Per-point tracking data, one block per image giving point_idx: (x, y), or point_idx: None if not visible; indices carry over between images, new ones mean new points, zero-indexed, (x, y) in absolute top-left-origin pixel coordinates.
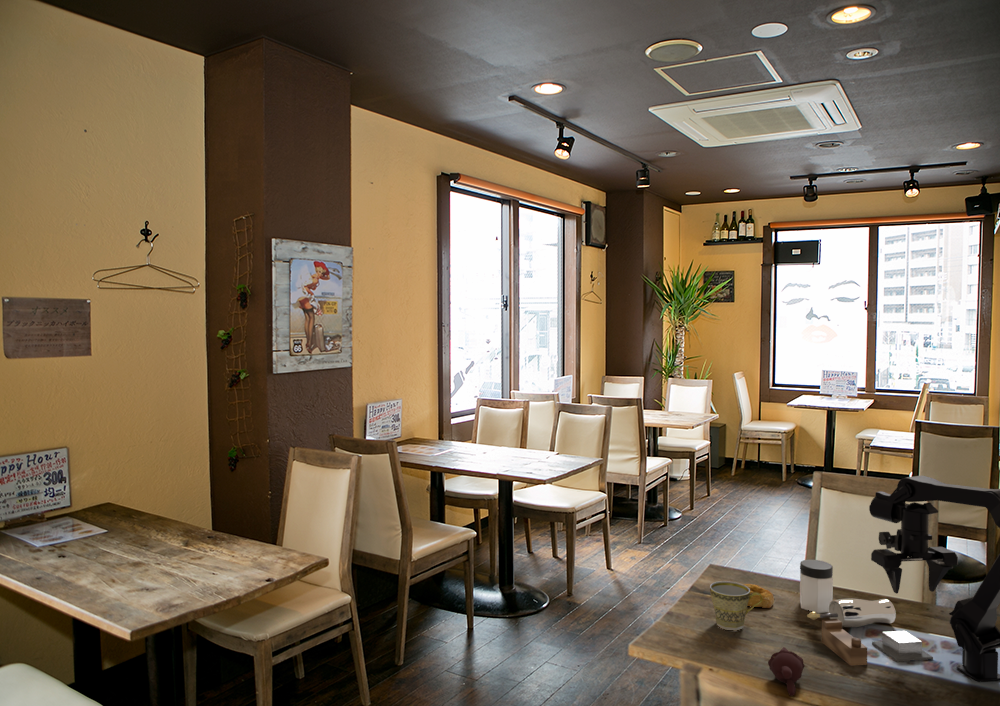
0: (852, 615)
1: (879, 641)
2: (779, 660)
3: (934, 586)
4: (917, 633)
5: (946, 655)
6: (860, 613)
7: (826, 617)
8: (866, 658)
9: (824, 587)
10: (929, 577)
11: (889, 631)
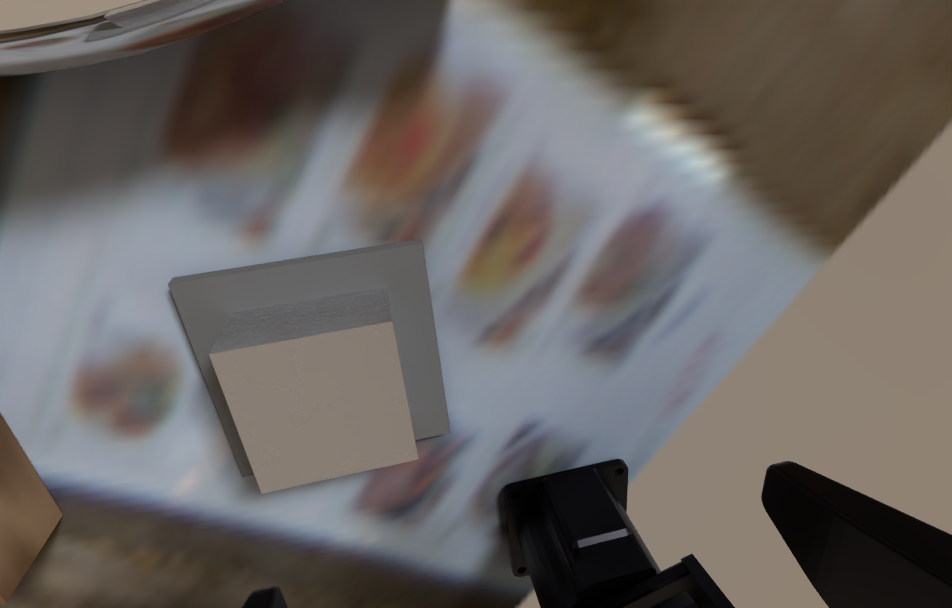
0: None
1: (222, 280)
2: None
3: (822, 591)
4: (562, 107)
5: (542, 377)
6: (74, 51)
7: None
8: (40, 543)
9: None
10: (947, 600)
11: (267, 345)
